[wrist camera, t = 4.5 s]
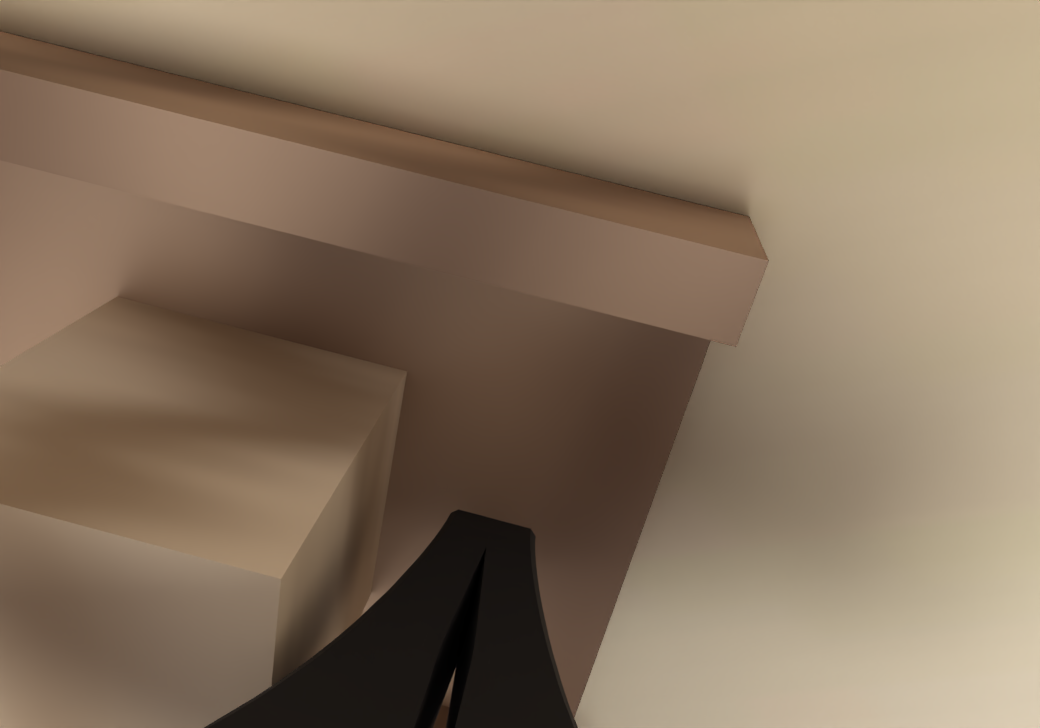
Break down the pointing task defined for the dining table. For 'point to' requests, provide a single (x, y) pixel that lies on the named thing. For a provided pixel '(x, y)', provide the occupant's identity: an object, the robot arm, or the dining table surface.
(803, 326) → the dining table surface
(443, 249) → the walled channel
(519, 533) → the robot arm
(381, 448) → the maple block
